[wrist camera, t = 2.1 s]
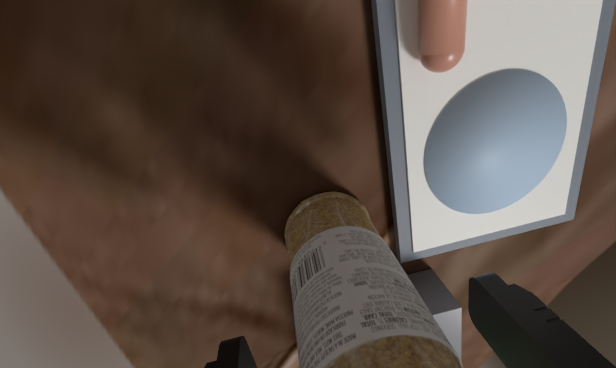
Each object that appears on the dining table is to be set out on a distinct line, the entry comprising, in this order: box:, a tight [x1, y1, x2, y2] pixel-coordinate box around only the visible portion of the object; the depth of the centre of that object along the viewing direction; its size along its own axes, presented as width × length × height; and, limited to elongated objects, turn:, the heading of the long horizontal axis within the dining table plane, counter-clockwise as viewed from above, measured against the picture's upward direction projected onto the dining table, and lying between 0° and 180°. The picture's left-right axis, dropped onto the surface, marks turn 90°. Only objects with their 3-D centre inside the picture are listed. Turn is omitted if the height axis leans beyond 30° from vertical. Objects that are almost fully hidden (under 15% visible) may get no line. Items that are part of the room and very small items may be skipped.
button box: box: [407, 268, 462, 361], centre depth 18 cm, size 7×7×3 cm
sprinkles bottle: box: [284, 191, 463, 368], centre depth 10 cm, size 5×5×13 cm
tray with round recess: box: [371, 0, 616, 263], centre depth 13 cm, size 17×10×1 cm, turn 12°
